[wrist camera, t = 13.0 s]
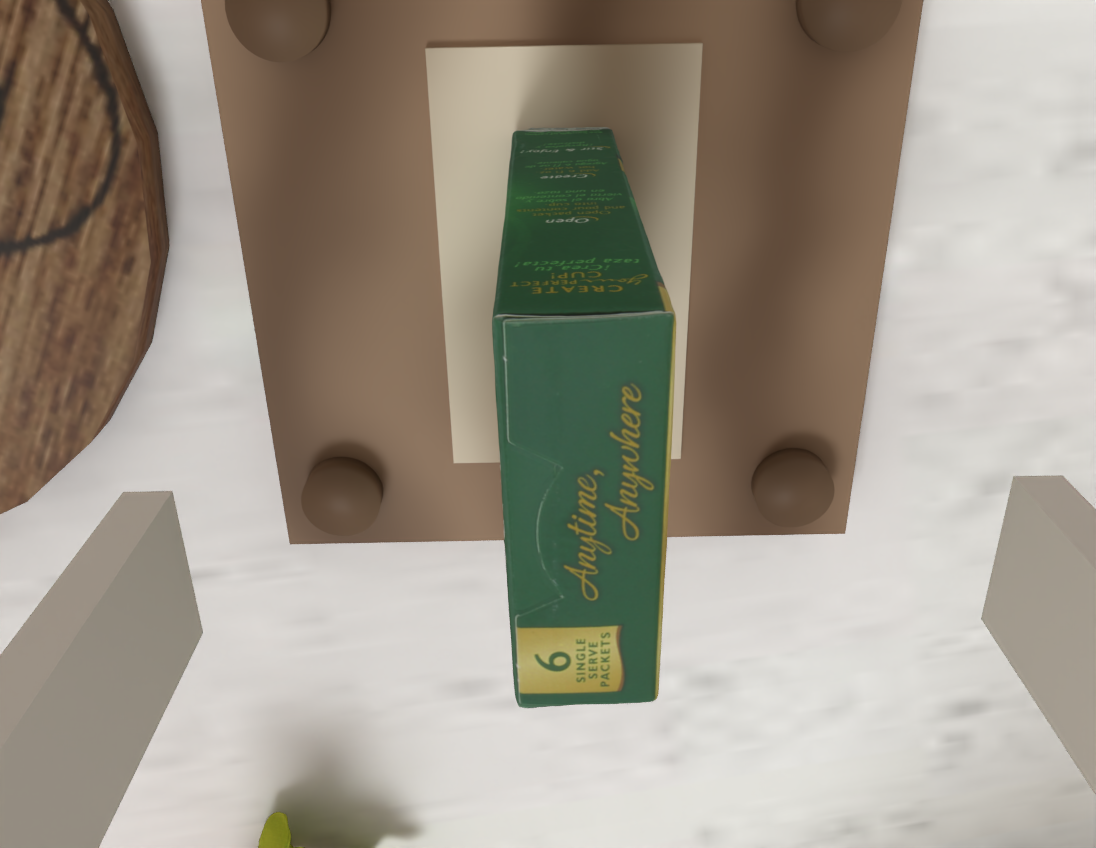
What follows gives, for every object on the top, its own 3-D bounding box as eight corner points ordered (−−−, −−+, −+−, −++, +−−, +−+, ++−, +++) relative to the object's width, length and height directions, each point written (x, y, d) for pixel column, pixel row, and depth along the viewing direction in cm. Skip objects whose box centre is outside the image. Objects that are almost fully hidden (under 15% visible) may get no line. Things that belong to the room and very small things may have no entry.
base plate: (911, -94, 25) (949, -96, 23) (830, 504, 33) (851, 547, 31) (210, -81, 25) (176, -82, 23) (301, 514, 33) (284, 558, 31)
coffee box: (613, 402, 29) (665, 721, 17) (517, 403, 29) (504, 723, 17) (619, 124, 25) (689, 293, 14) (508, 126, 25) (486, 296, 14)
